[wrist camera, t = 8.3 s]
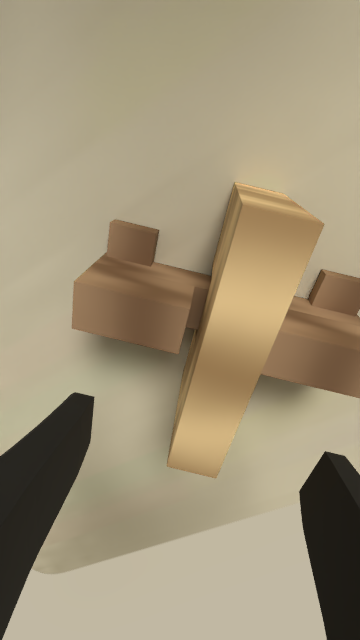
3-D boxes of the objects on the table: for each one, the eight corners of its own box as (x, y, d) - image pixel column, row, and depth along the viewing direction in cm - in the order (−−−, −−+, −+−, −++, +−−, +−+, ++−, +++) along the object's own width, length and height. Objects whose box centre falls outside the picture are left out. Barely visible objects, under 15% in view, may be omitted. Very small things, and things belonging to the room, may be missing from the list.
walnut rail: (101, 315, 20) (70, 359, 16) (111, 218, 17) (75, 240, 13) (321, 369, 20) (347, 426, 16) (369, 280, 17) (416, 323, 13)
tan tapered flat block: (217, 382, 21) (216, 478, 15) (182, 374, 21) (166, 466, 15) (283, 193, 15) (324, 224, 9) (234, 182, 15) (242, 204, 9)
